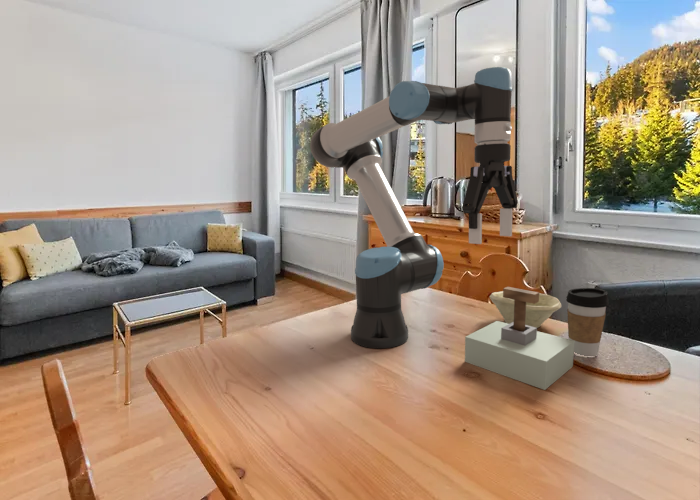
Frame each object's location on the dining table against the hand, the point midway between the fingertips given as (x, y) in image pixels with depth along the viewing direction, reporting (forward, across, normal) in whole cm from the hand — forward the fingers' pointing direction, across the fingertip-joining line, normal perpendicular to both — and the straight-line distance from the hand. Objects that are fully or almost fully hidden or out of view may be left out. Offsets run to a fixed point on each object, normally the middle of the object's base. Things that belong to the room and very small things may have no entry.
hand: (491, 239), depth 95 cm
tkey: (+21, -2, -8) cm, 23 cm away
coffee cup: (+28, +14, -16) cm, 35 cm away
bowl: (+27, +22, +2) cm, 35 cm away
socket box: (+27, -2, -8) cm, 28 cm away
